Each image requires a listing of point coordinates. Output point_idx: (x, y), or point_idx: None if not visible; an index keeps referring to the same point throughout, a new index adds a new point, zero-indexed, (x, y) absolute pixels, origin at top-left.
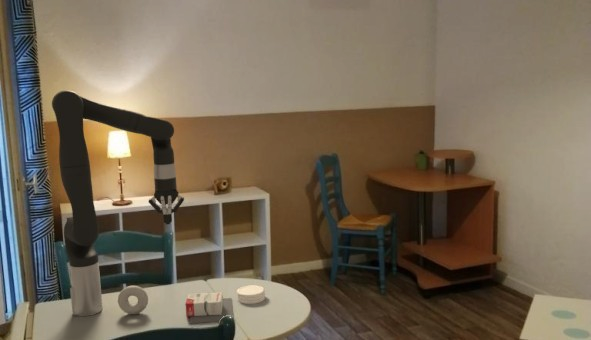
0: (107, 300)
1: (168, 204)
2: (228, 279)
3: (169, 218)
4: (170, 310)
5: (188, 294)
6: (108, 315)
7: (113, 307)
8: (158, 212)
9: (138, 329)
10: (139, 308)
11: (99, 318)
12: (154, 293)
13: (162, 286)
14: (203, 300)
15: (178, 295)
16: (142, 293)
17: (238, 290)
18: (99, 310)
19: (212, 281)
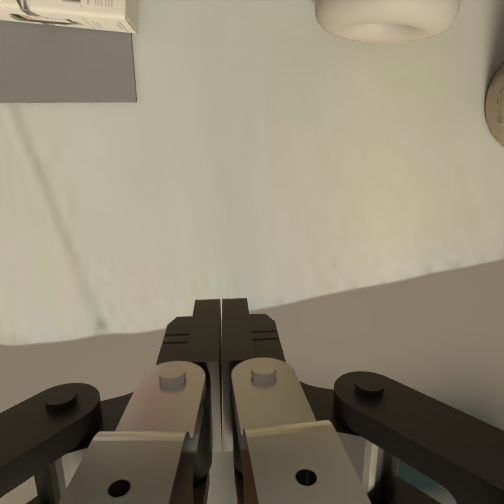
0: (468, 195)
1: (152, 493)
2: (9, 327)
3: (190, 329)
4: (217, 29)
5: (124, 8)
6: (459, 34)
7: (444, 116)
8: (380, 378)
9: None
10: None
11: (492, 9)
12: (296, 232)
13: (271, 299)
14: None
15: (199, 191)
16: None
17: None
18: (498, 74)
19: (74, 316)
